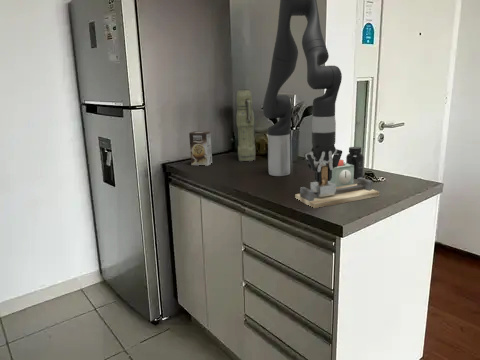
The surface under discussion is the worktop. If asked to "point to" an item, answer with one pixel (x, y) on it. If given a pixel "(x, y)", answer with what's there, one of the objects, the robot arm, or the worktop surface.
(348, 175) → the button box
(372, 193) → the rail track
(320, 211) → the worktop surface
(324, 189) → the carriage
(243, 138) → the thermos
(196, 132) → the coffee box
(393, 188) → the worktop surface
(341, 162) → the button
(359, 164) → the supplement bottle
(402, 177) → the worktop surface
